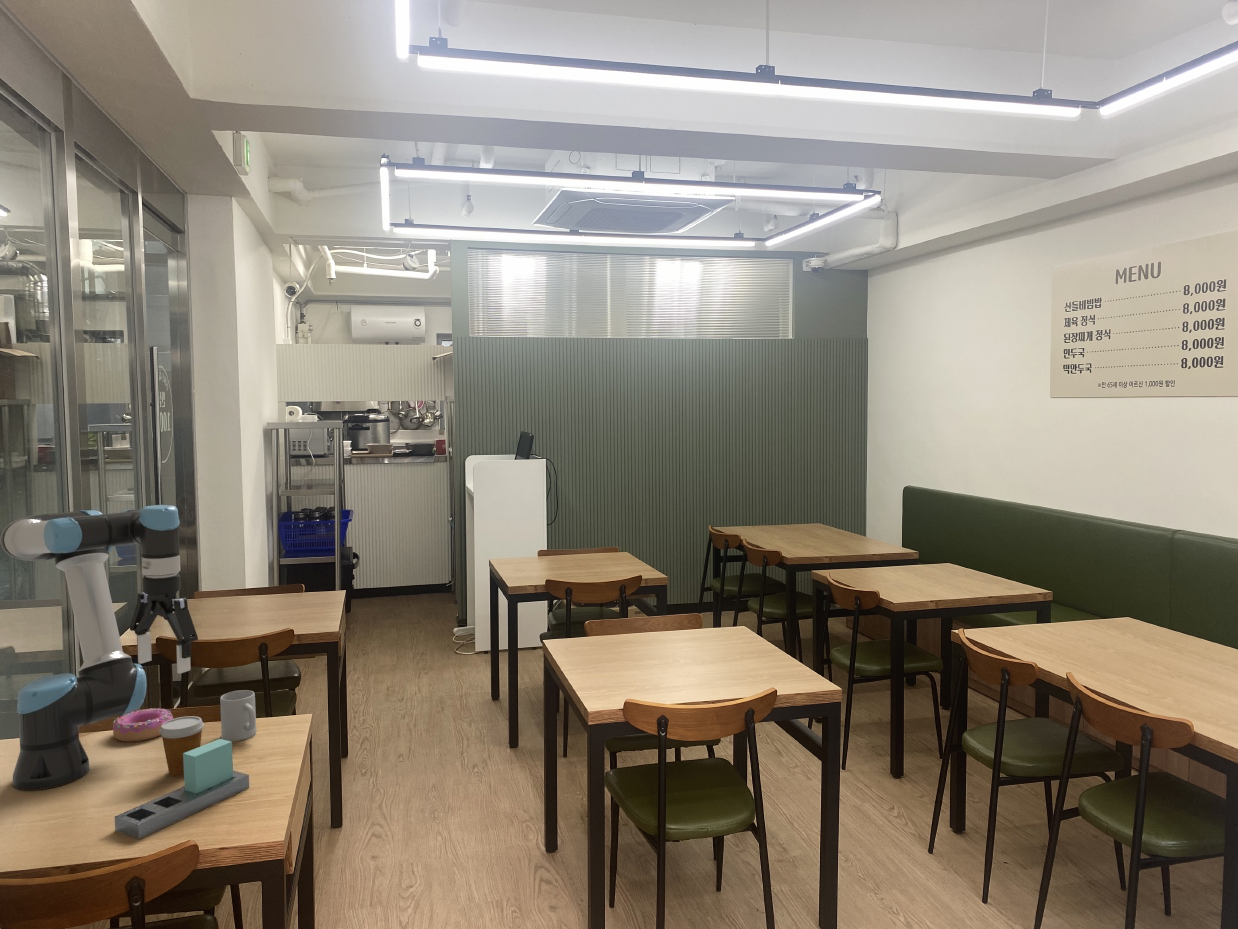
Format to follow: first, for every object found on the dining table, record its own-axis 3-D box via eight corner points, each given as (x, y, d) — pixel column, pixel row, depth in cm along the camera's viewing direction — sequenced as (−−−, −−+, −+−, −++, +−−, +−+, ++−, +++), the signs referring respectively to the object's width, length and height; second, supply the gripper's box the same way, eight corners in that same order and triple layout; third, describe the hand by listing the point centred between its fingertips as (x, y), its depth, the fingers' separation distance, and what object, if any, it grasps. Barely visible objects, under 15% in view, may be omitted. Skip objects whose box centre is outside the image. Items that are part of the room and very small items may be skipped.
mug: (215, 736, 222) (213, 696, 221) (246, 727, 229) (244, 687, 228) (238, 747, 215) (236, 705, 214) (269, 736, 222) (267, 696, 221)
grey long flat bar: (115, 830, 172) (114, 816, 172) (226, 780, 195) (225, 768, 195) (139, 839, 168) (138, 825, 168) (249, 787, 191) (248, 774, 191)
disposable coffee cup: (187, 781, 195) (184, 731, 194) (152, 778, 197) (149, 728, 196) (214, 764, 204) (212, 716, 203) (180, 761, 206) (178, 714, 205)
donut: (185, 727, 230) (184, 709, 229) (139, 747, 216) (138, 728, 216) (147, 721, 235) (146, 703, 235) (100, 740, 222) (99, 721, 221)
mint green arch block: (185, 802, 184) (183, 753, 183) (222, 785, 192) (220, 738, 191) (197, 805, 182) (194, 756, 181) (233, 788, 190) (231, 741, 189)
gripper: (110, 571, 189) (113, 662, 191) (182, 584, 178) (185, 681, 179) (142, 565, 195) (144, 653, 197) (213, 577, 184) (216, 671, 186)
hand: (164, 667), depth 188 cm, fingers open, 13 cm apart
